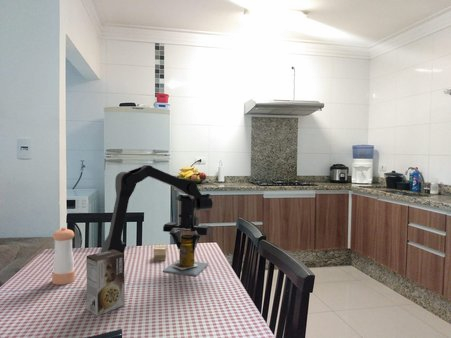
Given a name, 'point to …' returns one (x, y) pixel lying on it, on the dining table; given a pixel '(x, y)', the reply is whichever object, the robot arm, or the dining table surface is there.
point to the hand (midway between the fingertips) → (186, 249)
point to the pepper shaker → (63, 257)
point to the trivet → (189, 271)
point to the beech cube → (160, 252)
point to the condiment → (186, 253)
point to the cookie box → (105, 281)
